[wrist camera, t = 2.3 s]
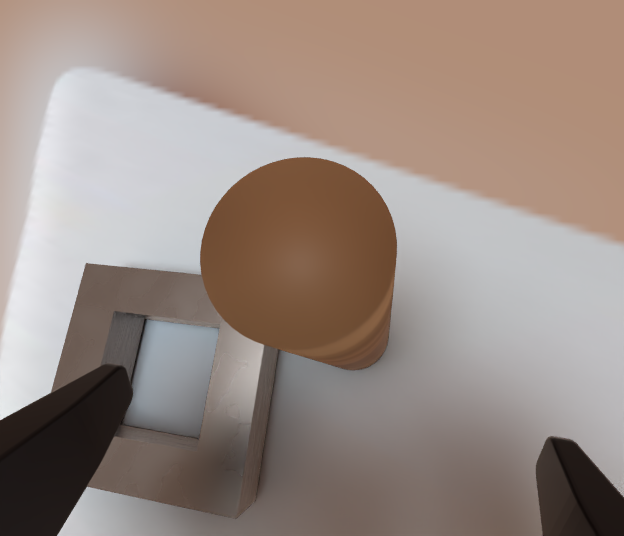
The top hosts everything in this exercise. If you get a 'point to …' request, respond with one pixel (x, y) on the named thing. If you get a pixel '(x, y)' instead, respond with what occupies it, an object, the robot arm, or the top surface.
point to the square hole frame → (219, 404)
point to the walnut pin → (304, 261)
